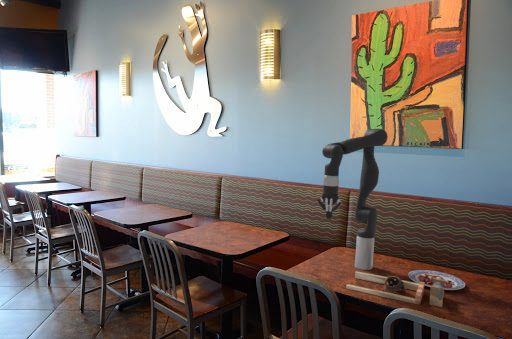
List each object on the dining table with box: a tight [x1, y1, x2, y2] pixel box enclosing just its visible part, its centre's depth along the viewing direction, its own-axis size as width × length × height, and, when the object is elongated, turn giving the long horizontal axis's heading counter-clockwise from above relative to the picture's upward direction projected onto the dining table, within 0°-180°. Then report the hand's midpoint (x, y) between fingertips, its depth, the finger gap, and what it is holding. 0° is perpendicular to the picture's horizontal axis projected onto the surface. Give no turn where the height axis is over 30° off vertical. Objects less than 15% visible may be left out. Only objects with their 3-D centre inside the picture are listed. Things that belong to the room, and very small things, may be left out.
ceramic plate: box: [407, 269, 466, 291], centre depth 197 cm, size 26×26×3 cm
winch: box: [428, 278, 445, 308], centre depth 174 cm, size 15×5×9 cm, turn 152°
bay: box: [345, 270, 425, 306], centre depth 186 cm, size 18×32×4 cm, turn 62°
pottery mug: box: [383, 274, 406, 294], centre depth 184 cm, size 12×10×8 cm
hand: (329, 218), depth 201 cm, fingers closed
